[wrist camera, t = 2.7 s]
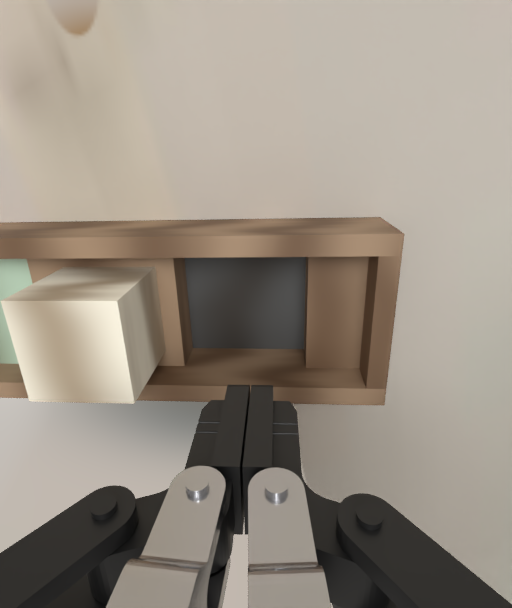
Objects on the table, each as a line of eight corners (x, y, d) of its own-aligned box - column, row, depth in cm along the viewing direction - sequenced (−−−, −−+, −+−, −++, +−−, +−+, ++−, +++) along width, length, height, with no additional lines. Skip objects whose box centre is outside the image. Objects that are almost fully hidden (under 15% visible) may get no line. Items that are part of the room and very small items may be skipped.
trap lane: (380, 217, 21) (404, 233, 17) (367, 361, 24) (384, 405, 20) (-219, 225, 24) (-327, 242, 19) (-158, 355, 27) (-238, 392, 23)
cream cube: (155, 266, 20) (117, 301, 16) (165, 350, 22) (134, 403, 18) (64, 267, 21) (0, 300, 16) (82, 349, 23) (29, 401, 18)
